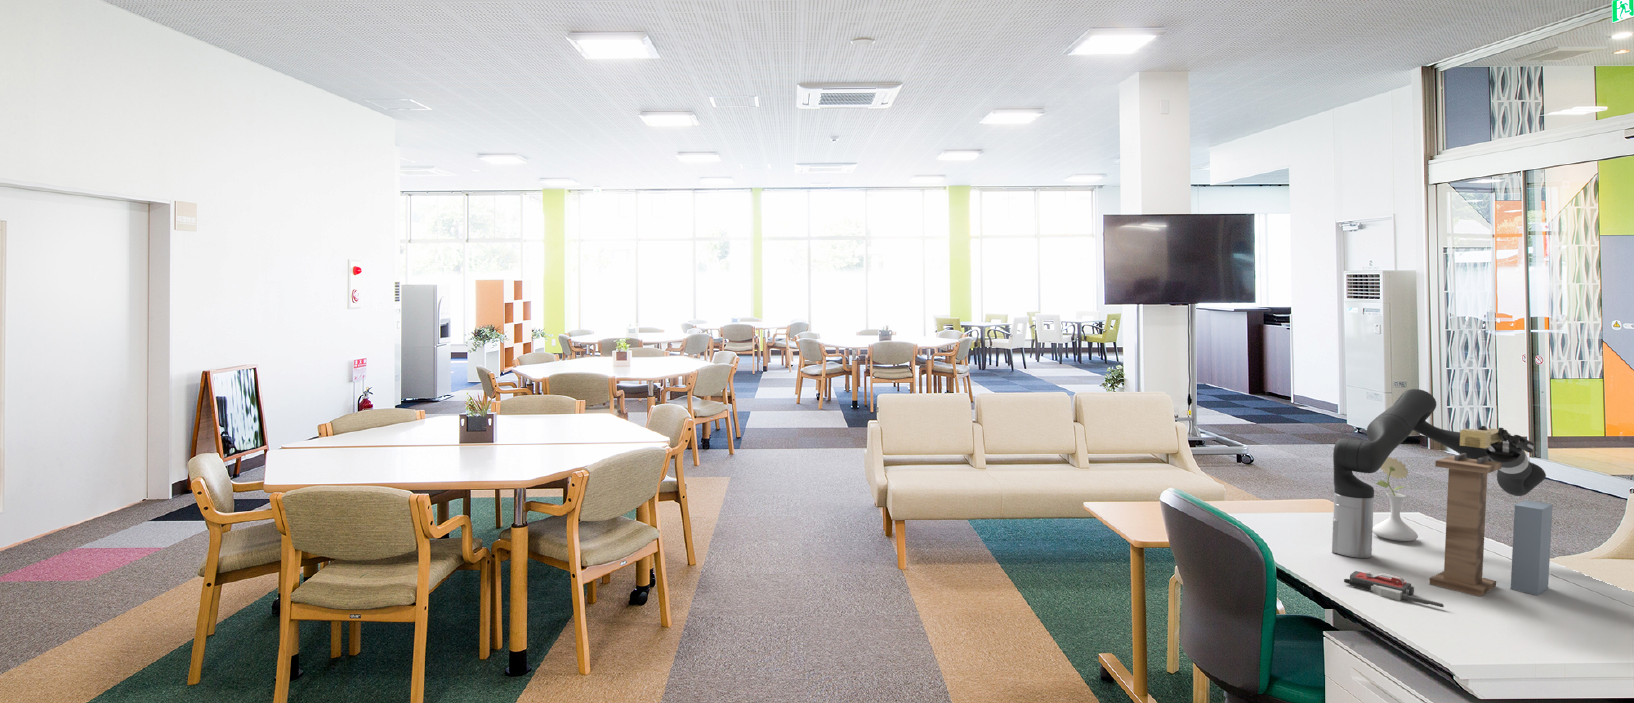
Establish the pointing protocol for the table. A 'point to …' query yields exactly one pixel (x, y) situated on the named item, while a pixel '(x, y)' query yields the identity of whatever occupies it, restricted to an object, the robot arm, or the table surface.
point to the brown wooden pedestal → (1465, 525)
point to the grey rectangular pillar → (1531, 547)
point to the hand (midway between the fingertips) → (1491, 429)
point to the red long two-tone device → (1386, 586)
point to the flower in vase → (1394, 506)
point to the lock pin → (1478, 437)
